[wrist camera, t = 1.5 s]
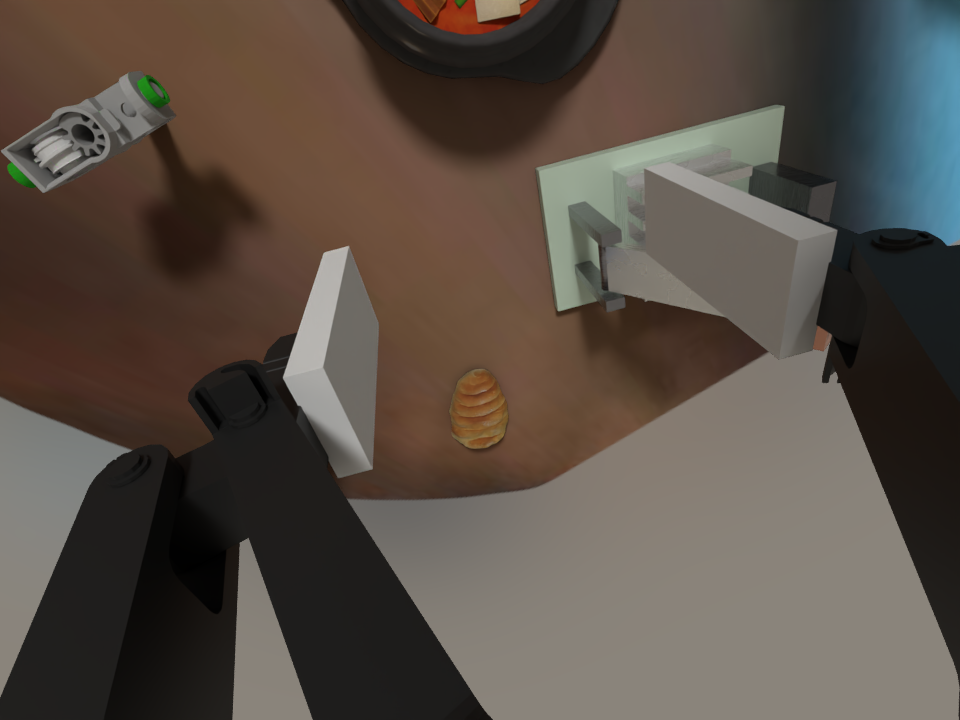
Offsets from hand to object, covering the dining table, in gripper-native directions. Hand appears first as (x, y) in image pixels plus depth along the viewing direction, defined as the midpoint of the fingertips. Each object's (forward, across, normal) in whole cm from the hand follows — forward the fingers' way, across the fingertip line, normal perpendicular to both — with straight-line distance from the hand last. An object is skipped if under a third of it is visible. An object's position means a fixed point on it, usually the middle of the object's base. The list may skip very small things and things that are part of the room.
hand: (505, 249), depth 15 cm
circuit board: (+30, +19, -12) cm, 37 cm away
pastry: (+30, -3, -29) cm, 42 cm away
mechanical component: (+30, -20, +6) cm, 37 cm away
